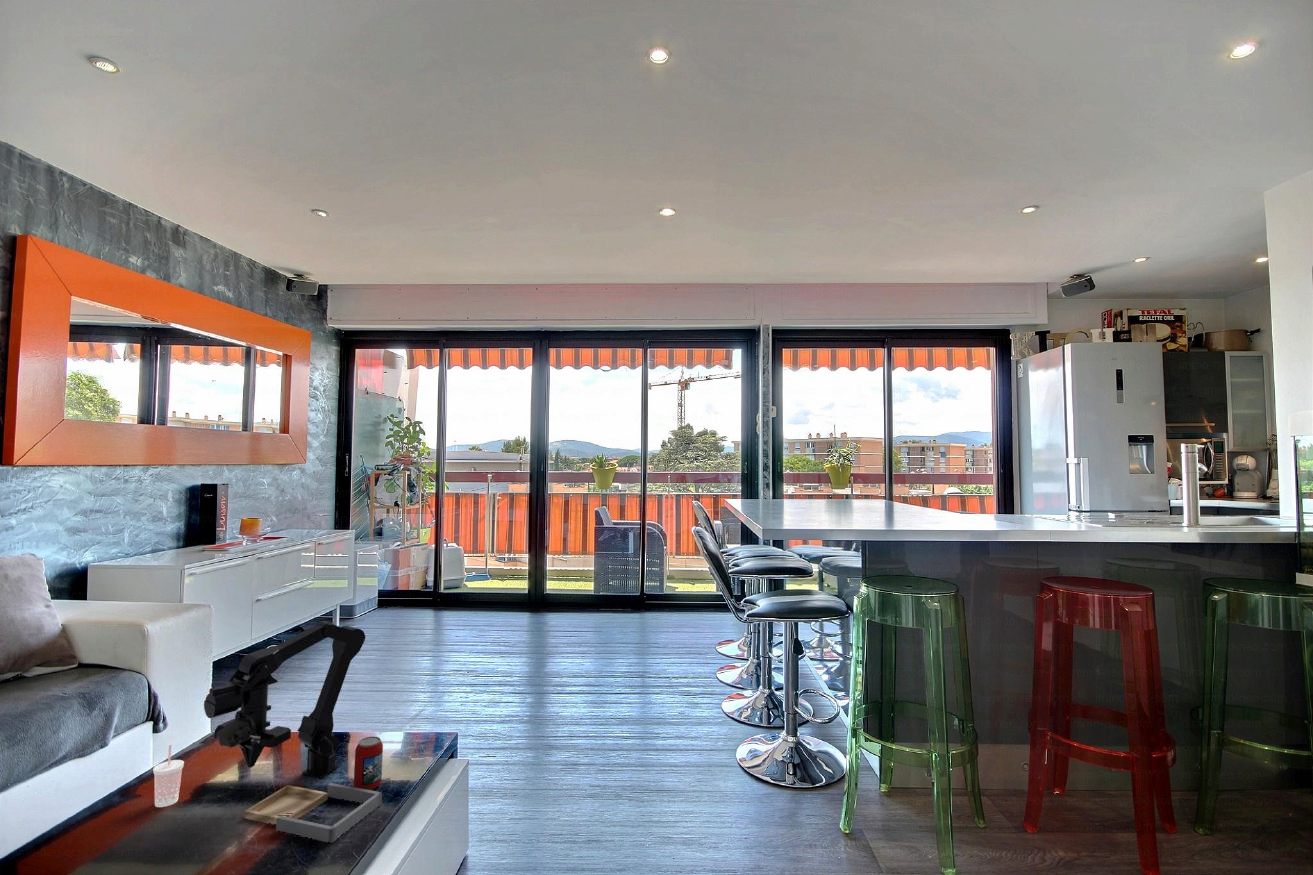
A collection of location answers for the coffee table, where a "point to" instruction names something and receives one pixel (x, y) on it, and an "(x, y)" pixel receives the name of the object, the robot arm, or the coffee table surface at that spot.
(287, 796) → the tray
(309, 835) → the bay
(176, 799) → the beverage cup
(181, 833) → the coffee table surface
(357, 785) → the beverage can
